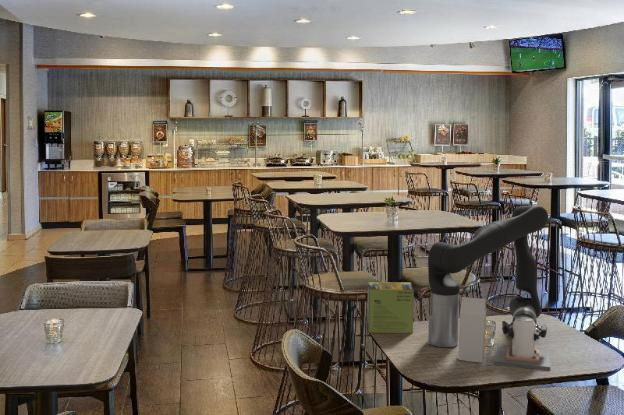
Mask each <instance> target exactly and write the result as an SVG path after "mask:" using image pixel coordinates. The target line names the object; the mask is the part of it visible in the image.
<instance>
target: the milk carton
mask: <svg viewBox="0 0 624 415" xmlns="http://www.w3.org/2000/svg"><path fill="white" fill-rule="evenodd" d="M486 301H487V300H486V298H477V297H465V296H462V297H461V302H460V308H459V324H458V357H457V358H458V360H459V361H465V362H473V363H475V362H476V363H481V364H482V363H483V361H484V358H485V355H486V354H485V352H486V328H487V324H486V323H487V304H486Z"/></svg>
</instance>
